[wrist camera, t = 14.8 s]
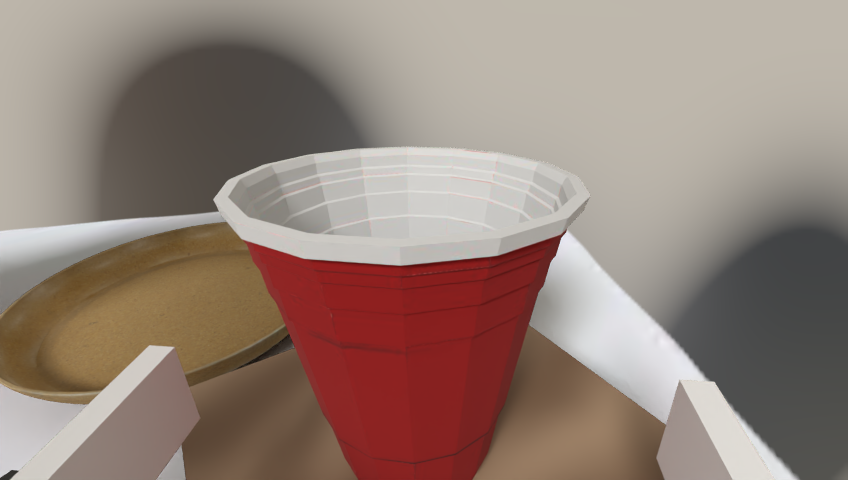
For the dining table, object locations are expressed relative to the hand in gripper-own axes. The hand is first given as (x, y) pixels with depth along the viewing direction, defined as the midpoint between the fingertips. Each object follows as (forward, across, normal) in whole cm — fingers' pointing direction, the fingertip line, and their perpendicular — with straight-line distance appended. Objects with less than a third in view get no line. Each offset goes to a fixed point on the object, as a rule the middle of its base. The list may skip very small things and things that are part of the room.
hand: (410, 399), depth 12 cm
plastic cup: (+4, -1, -7) cm, 8 cm away
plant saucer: (+19, -22, -12) cm, 32 cm away
